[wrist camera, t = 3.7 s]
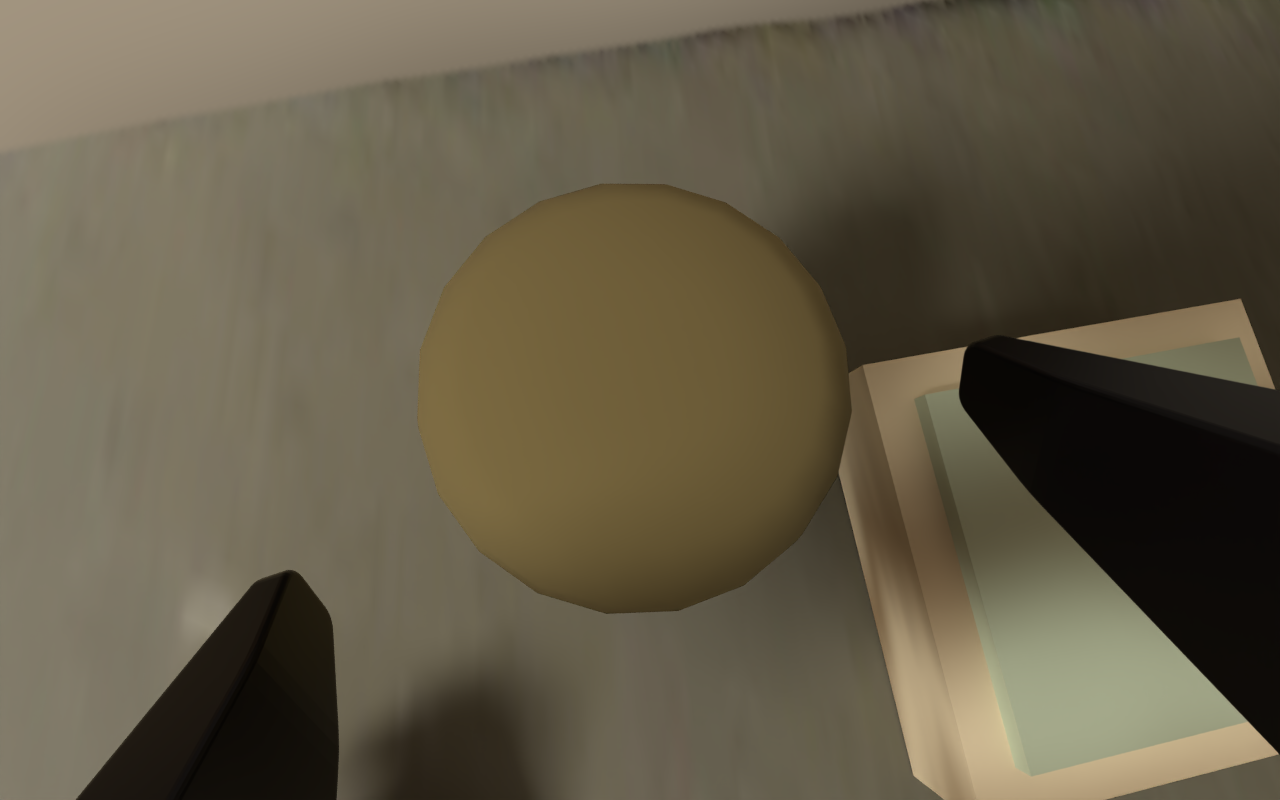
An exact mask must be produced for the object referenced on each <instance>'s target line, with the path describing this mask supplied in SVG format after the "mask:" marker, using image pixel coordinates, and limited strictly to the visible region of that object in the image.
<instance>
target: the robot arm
mask: <svg viewBox="0 0 1280 800" xmlns="http://www.w3.org/2000/svg"><path fill="white" fill-rule="evenodd" d="M959 399H960V402H961V405H962V407H963V409H964V410H965V412H966V413H967V414H968V416H969V417H970V418H971V419H972V421H973V422H974V423H975V424H976V426H977V427H978V428H979V430H980V431H981V432H982V433H983V435H984V436H985V437H986V439H987V440H988V441H989V442H990V444H991V445H992V446H993V448H994V449H995V450H996V451H997V453H998V454H999V455H1000V457H1001V458H1002V459H1003V460H1004V462H1005V463H1006V464H1007V466H1008V467H1009V468H1010V469H1011V471H1012V472H1013V473H1014V475H1015V476H1016V477H1017V478H1018V480H1019V481H1020V482H1021V483H1022V484H1023V486H1024V487H1025V488H1026V489H1027V490H1028V492H1029V493H1030V494H1031V495H1032V496H1033V497H1034V498H1035V499H1036V501H1037V502H1038V503H1039V504H1040V505H1041V506H1042V507H1043V508H1044V509H1045V510H1046V511H1047V512H1048V513H1049V514H1050V516H1051V517H1052V518H1053V519H1054V520H1055V521H1056V522H1057V523H1058V524H1059V525H1060V526H1061V527H1062V528H1063V529H1064V530H1065V531H1066V532H1067V533H1068V534H1069V535H1070V536H1071V537H1072V538H1073V540H1074V541H1075V542H1076V543H1077V544H1078V545H1079V546H1080V547H1081V548H1082V549H1083V550H1084V551H1085V552H1086V553H1087V554H1088V555H1089V556H1090V557H1091V558H1092V559H1093V560H1094V561H1095V562H1096V564H1097V565H1098V566H1099V567H1100V568H1101V569H1102V570H1103V571H1104V572H1105V573H1106V574H1107V575H1108V576H1109V577H1110V578H1111V579H1112V580H1113V581H1114V582H1115V583H1116V584H1117V585H1118V586H1119V588H1120V589H1121V590H1122V591H1123V592H1124V593H1125V594H1126V595H1127V596H1128V597H1129V598H1130V599H1131V600H1132V601H1133V602H1134V603H1135V604H1136V605H1137V606H1138V607H1139V608H1140V609H1141V611H1142V612H1143V613H1144V614H1145V615H1146V616H1147V617H1148V618H1149V619H1150V620H1151V621H1152V622H1153V623H1154V624H1155V625H1156V626H1157V627H1158V628H1159V629H1160V630H1161V631H1162V632H1163V633H1164V635H1165V636H1166V637H1167V638H1168V639H1169V640H1170V641H1171V642H1172V643H1173V644H1174V645H1175V646H1176V647H1177V648H1178V649H1179V650H1180V651H1181V652H1182V653H1183V654H1184V655H1185V656H1186V657H1187V659H1188V660H1189V661H1190V662H1191V663H1192V664H1193V665H1194V666H1195V667H1196V668H1197V669H1198V670H1199V671H1200V672H1201V673H1202V674H1203V675H1204V676H1205V677H1206V678H1207V679H1208V680H1209V681H1210V683H1211V684H1212V685H1213V686H1214V687H1215V688H1216V689H1217V690H1218V691H1219V692H1220V693H1221V694H1222V695H1223V696H1224V697H1225V698H1226V699H1227V700H1228V701H1229V702H1230V703H1231V704H1232V706H1233V707H1234V708H1235V709H1236V710H1237V711H1238V712H1239V713H1240V714H1241V715H1242V716H1243V717H1244V718H1245V719H1246V720H1247V721H1248V722H1249V723H1250V724H1251V725H1252V726H1253V727H1254V728H1255V730H1256V731H1257V732H1258V733H1259V734H1260V735H1261V736H1262V737H1263V738H1264V739H1265V740H1266V741H1267V742H1268V743H1269V744H1270V745H1271V746H1272V747H1273V748H1274V749H1275V750H1276V751H1277V752H1278V754H1279V755H1280V390H1276V389H1271V388H1265V387H1260V386H1255V385H1250V384H1245V383H1240V382H1235V381H1230V380H1225V379H1220V378H1215V377H1210V376H1205V375H1200V374H1195V373H1189V372H1184V371H1179V370H1174V369H1169V368H1164V367H1159V366H1154V365H1149V364H1144V363H1139V362H1134V361H1129V360H1124V359H1119V358H1113V357H1108V356H1103V355H1098V354H1093V353H1088V352H1083V351H1078V350H1073V349H1068V348H1063V347H1058V346H1053V345H1048V344H1043V343H1037V342H1032V341H1027V340H1022V339H1017V338H1012V337H1007V336H1001V335H996V336H991V337H988V338H985V339H982V340H979V341H976V342H973V343H971V344H970V345H968V347H967V348H966V350H965V352H964V357H963V364H962V371H961V378H960V385H959ZM338 762H339V730H338V711H337V693H336V675H335V656H334V638H333V625H332V621H331V617H330V615H329V613H328V611H327V609H326V607H325V606H324V605H323V603H322V602H321V601H320V600H319V598H318V597H317V596H316V594H315V593H314V592H313V590H312V589H311V588H310V586H309V585H308V584H307V582H306V581H305V580H304V579H303V577H302V576H301V575H300V574H299V573H297V572H296V571H293V570H286V571H283V572H280V573H277V574H274V575H271V576H268V577H265V578H262V579H260V580H258V581H256V582H255V583H254V584H253V585H252V586H251V587H250V588H249V589H248V591H247V592H246V593H245V594H244V595H243V597H242V598H241V599H240V600H239V602H238V603H237V604H236V605H235V606H234V608H233V609H232V610H231V611H230V612H229V614H228V615H227V616H226V617H225V619H224V620H223V621H222V622H221V623H220V625H219V626H218V627H217V628H216V630H215V631H214V632H213V633H212V634H211V636H210V637H209V638H208V639H207V641H206V642H205V643H204V644H203V645H202V647H201V648H200V649H199V650H198V651H197V653H196V654H195V655H194V656H193V658H192V659H191V660H190V661H189V662H188V664H187V665H186V666H185V667H184V669H183V670H182V671H181V672H180V673H179V675H178V676H177V677H176V678H175V679H174V681H173V682H172V683H171V684H170V686H169V687H168V688H167V689H166V690H165V692H164V693H163V694H162V695H161V697H160V698H159V699H158V700H157V701H156V703H155V704H154V705H153V706H152V707H151V709H150V710H149V711H148V712H147V714H146V715H145V716H144V717H143V718H142V720H141V721H140V722H139V723H138V725H137V726H136V727H135V728H134V729H133V731H132V732H131V733H130V734H129V735H128V737H127V738H126V739H125V740H124V742H123V743H122V744H121V745H120V746H119V748H118V749H117V750H116V751H115V753H114V754H113V755H112V756H111V757H110V759H109V760H108V761H107V762H106V763H105V765H104V766H103V767H102V768H101V770H100V771H99V772H98V773H97V774H96V776H95V777H94V778H93V779H92V781H91V782H90V783H89V784H88V785H87V787H86V788H85V789H84V790H83V791H82V793H81V794H80V795H79V796H78V798H77V799H76V800H336V798H337V782H338Z"/></svg>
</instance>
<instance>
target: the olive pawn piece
mask: <svg viewBox="0 0 1280 800" xmlns="http://www.w3.org/2000/svg"><path fill="white" fill-rule="evenodd" d="M851 414H852V405H851V395H850V384H849V374H848V363H847V353H846V345H845V343H844V341H843V338H842V336H841V334H840V331H839V329H838V327H837V324H836V322H835V320H834V317H833V315H832V313H831V310H830V308H829V305H828V303H827V301H826V298H825V296H824V294H823V291H822V289H821V287H820V286H819V284H818V283H817V282H816V281H815V280H814V279H813V277H812V276H811V275H810V274H809V273H808V271H807V270H806V269H805V268H804V267H803V265H802V264H801V263H800V262H799V261H798V259H797V258H796V257H795V256H794V255H793V254H792V252H791V251H790V250H789V249H788V248H787V246H786V245H785V244H784V243H783V242H782V240H781V239H780V238H779V237H777V236H776V235H774V234H773V233H771V232H770V231H768V230H766V229H765V228H763V227H762V226H760V225H759V224H757V223H756V222H754V221H753V220H751V219H750V218H748V217H747V216H745V215H744V214H742V213H741V212H739V211H738V210H736V209H735V208H733V207H732V206H730V205H728V204H727V203H725V202H722V201H719V200H715V199H712V198H709V197H705V196H702V195H699V194H696V193H692V192H689V191H686V190H682V189H679V188H676V187H673V186H669V185H666V184H599V185H595V186H592V187H588V188H585V189H581V190H578V191H574V192H571V193H567V194H564V195H561V196H557V197H554V198H550V199H547V200H543V201H540V202H538V203H537V204H535V205H534V206H532V207H530V208H529V209H527V210H526V211H524V212H523V213H521V214H520V215H518V216H517V217H515V218H514V219H512V220H511V221H509V222H508V223H506V224H504V225H503V226H501V227H500V228H498V229H497V230H495V231H494V232H492V233H491V234H489V235H488V236H486V237H485V238H484V239H483V241H482V242H481V243H480V244H479V245H478V247H477V248H476V249H475V250H474V252H473V253H472V254H471V255H470V256H469V258H468V259H467V260H466V261H465V263H464V264H463V265H462V266H461V268H460V269H459V270H458V271H457V272H456V274H455V275H454V276H453V277H452V279H451V280H450V281H449V282H448V283H447V285H446V286H445V287H444V289H443V292H442V294H441V297H440V300H439V302H438V305H437V307H436V310H435V313H434V315H433V318H432V320H431V323H430V326H429V328H428V331H427V333H426V336H425V339H424V341H423V344H422V347H421V349H420V366H419V391H418V416H417V419H418V427H419V431H420V434H421V438H422V441H423V444H424V448H425V451H426V455H427V458H428V461H429V465H430V468H431V471H432V475H433V478H434V481H435V485H436V488H437V491H438V494H439V496H440V497H441V499H442V500H443V501H444V503H445V504H446V506H447V507H448V508H449V510H450V511H451V513H452V514H453V515H454V517H455V518H456V520H457V521H458V522H459V524H460V525H461V527H462V528H463V529H464V531H465V532H466V534H467V535H468V536H469V538H470V539H471V541H472V542H473V543H474V545H475V546H476V548H477V549H478V550H479V552H481V553H482V554H484V555H485V556H486V557H488V558H489V559H491V560H492V561H493V562H495V563H496V564H498V565H499V566H500V567H502V568H503V569H505V570H506V571H507V572H509V573H510V574H512V575H513V576H514V577H516V578H517V579H519V580H520V581H521V582H523V583H524V584H526V585H527V586H528V587H530V588H531V589H533V590H534V591H535V592H537V593H539V594H542V595H546V596H549V597H552V598H556V599H559V600H562V601H566V602H569V603H573V604H576V605H579V606H583V607H586V608H589V609H593V610H596V611H599V612H603V613H606V614H610V613H636V612H661V611H679V610H681V609H684V608H687V607H689V606H692V605H694V604H697V603H700V602H702V601H705V600H707V599H710V598H713V597H715V596H718V595H720V594H723V593H725V592H728V591H731V590H733V589H736V588H738V587H741V586H744V585H745V584H746V583H747V582H748V581H749V580H751V579H752V578H753V577H754V576H755V575H757V574H758V573H759V572H760V571H761V570H763V569H764V568H765V567H766V566H767V565H769V564H770V563H771V562H772V561H773V560H775V559H776V558H777V557H778V556H779V555H780V554H782V553H783V552H784V551H785V550H786V549H788V548H789V547H790V546H791V545H792V544H794V543H795V542H796V541H797V540H798V539H799V537H800V536H801V535H802V534H803V532H804V530H805V529H806V527H807V525H808V524H809V522H810V521H811V519H812V517H813V516H814V514H815V512H816V511H817V509H818V507H819V506H820V504H821V502H822V501H823V499H824V497H825V496H826V494H827V492H828V491H829V489H830V488H831V486H832V484H833V483H834V481H835V479H836V478H837V476H838V472H839V467H840V463H841V458H842V454H843V449H844V445H845V440H846V436H847V432H848V427H849V423H850V418H851Z"/></svg>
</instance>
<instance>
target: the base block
mask: <svg viewBox="0 0 1280 800" xmlns="http://www.w3.org/2000/svg"><path fill="white" fill-rule="evenodd" d="M1017 339H1022V340H1027V341H1032V342H1037V343H1043V344H1048V345H1053V346H1058V347H1063V348H1068V349H1073V350H1078V351H1083V352H1088V353H1093V354H1098V355H1103V356H1108V357H1113V358H1119V359H1124V360H1129V361H1134V362H1139V363H1144V364H1149V365H1154V366H1159V367H1164V368H1169V369H1174V370H1179V371H1184V372H1189V373H1195V374H1200V375H1205V376H1210V377H1215V378H1220V379H1225V380H1230V381H1235V382H1240V383H1245V384H1250V385H1255V386H1260V387H1265V388H1271V389H1275V387H1274V385H1273V382H1272V379H1271V377H1270V374H1269V371H1268V369H1267V366H1266V364H1265V361H1264V358H1263V356H1262V353H1261V350H1260V348H1259V345H1258V343H1257V340H1256V337H1255V335H1254V332H1253V330H1252V327H1251V324H1250V322H1249V319H1248V316H1247V314H1246V311H1245V309H1244V306H1243V303H1242V301H1241V299H1236V300H1231V301H1225V302H1219V303H1213V304H1208V305H1202V306H1196V307H1191V308H1185V309H1179V310H1174V311H1168V312H1162V313H1156V314H1151V315H1145V316H1139V317H1134V318H1128V319H1122V320H1117V321H1111V322H1105V323H1099V324H1094V325H1088V326H1082V327H1077V328H1071V329H1065V330H1059V331H1054V332H1048V333H1042V334H1037V335H1031V336H1025V337H1020V338H1017ZM966 348H967V347H963V348H957V349H951V350H945V351H940V352H934V353H928V354H923V355H917V356H911V357H906V358H900V359H894V360H888V361H883V362H877V363H871V364H866V365H862V366H860V367H859V368H857V369H855V370H854V371H852V372H850V373H849V384H850V395H851V405H852V414H851V418H850V423H849V427H848V432H847V436H846V440H845V445H844V449H843V454H842V458H841V463H840V467H839V476H840V480H841V484H842V488H843V492H844V496H845V500H846V505H847V509H848V513H849V517H850V521H851V525H852V529H853V533H854V537H855V541H856V545H857V549H858V553H859V557H860V561H861V565H862V569H863V573H864V577H865V581H866V585H867V589H868V593H869V597H870V602H871V606H872V610H873V614H874V618H875V622H876V626H877V630H878V634H879V638H880V642H881V646H882V650H883V654H884V658H885V662H886V666H887V670H888V674H889V678H890V682H891V686H892V690H893V694H894V698H895V703H896V707H897V711H898V715H899V719H900V723H901V727H902V731H903V735H904V739H905V743H906V747H907V751H908V755H909V759H910V763H911V767H912V771H913V775H914V776H915V777H916V778H917V779H919V780H920V781H921V782H922V783H924V784H925V785H926V786H928V787H929V788H930V789H931V790H933V791H934V792H935V793H937V794H938V795H939V796H940V797H942V798H943V799H944V800H1106V799H1109V798H1113V797H1117V796H1121V795H1125V794H1129V793H1132V792H1136V791H1140V790H1144V789H1148V788H1152V787H1155V786H1159V785H1163V784H1167V783H1171V782H1175V781H1178V780H1182V779H1186V778H1190V777H1194V776H1198V775H1201V774H1205V773H1209V772H1213V771H1217V770H1220V769H1224V768H1228V767H1232V766H1236V765H1240V764H1243V763H1247V762H1251V761H1255V760H1259V759H1263V758H1266V757H1270V756H1274V755H1278V752H1277V751H1276V750H1275V749H1274V748H1273V747H1272V746H1271V745H1270V744H1269V743H1268V742H1267V741H1266V740H1265V739H1264V738H1263V737H1262V736H1261V735H1260V734H1259V733H1258V732H1257V731H1256V730H1255V728H1254V727H1253V726H1252V725H1251V724H1250V723H1249V722H1248V721H1247V720H1246V719H1245V718H1244V717H1243V716H1242V715H1241V714H1240V713H1239V712H1238V711H1237V710H1236V709H1235V708H1234V707H1233V706H1232V704H1231V703H1230V702H1229V701H1228V700H1227V699H1226V698H1225V697H1224V696H1223V695H1222V694H1221V693H1220V692H1219V691H1218V690H1217V689H1216V688H1215V687H1214V686H1213V685H1212V684H1211V683H1210V681H1209V680H1208V679H1207V678H1206V677H1205V676H1204V675H1203V674H1202V673H1201V672H1200V671H1199V670H1198V669H1197V668H1196V667H1195V666H1194V665H1193V664H1192V663H1191V662H1190V661H1189V660H1188V659H1187V657H1186V656H1185V655H1184V654H1183V653H1182V652H1181V651H1180V650H1179V649H1178V648H1177V647H1176V646H1175V645H1174V644H1173V643H1172V642H1171V641H1170V640H1169V639H1168V638H1167V637H1166V636H1165V635H1164V633H1163V632H1162V631H1161V630H1160V629H1159V628H1158V627H1157V626H1156V625H1155V624H1154V623H1153V622H1152V621H1151V620H1150V619H1149V618H1148V617H1147V616H1146V615H1145V614H1144V613H1143V612H1142V611H1141V609H1140V608H1139V607H1138V606H1137V605H1136V604H1135V603H1134V602H1133V601H1132V600H1131V599H1130V598H1129V597H1128V596H1127V595H1126V594H1125V593H1124V592H1123V591H1122V590H1121V589H1120V588H1119V586H1118V585H1117V584H1116V583H1115V582H1114V581H1113V580H1112V579H1111V578H1110V577H1109V576H1108V575H1107V574H1106V573H1105V572H1104V571H1103V570H1102V569H1101V568H1100V567H1099V566H1098V565H1097V564H1096V562H1095V561H1094V560H1093V559H1092V558H1091V557H1090V556H1089V555H1088V554H1087V553H1086V552H1085V551H1084V550H1083V549H1082V548H1081V547H1080V546H1079V545H1078V544H1077V543H1076V542H1075V541H1074V540H1073V538H1072V537H1071V536H1070V535H1069V534H1068V533H1067V532H1066V531H1065V530H1064V529H1063V528H1062V527H1061V526H1060V525H1059V524H1058V523H1057V522H1056V521H1055V520H1054V519H1053V518H1052V517H1051V516H1050V514H1049V513H1048V512H1047V511H1046V510H1045V509H1044V508H1043V507H1042V506H1041V505H1040V504H1039V503H1038V502H1037V501H1036V499H1035V498H1034V497H1033V496H1032V495H1031V494H1030V493H1029V492H1028V490H1027V489H1026V488H1025V487H1024V486H1023V484H1022V483H1021V482H1020V481H1019V480H1018V478H1017V477H1016V476H1015V475H1014V473H1013V472H1012V471H1011V469H1010V468H1009V467H1008V466H1007V464H1006V463H1005V462H1004V460H1003V459H1002V458H1001V457H1000V455H999V454H998V453H997V451H996V450H995V449H994V448H993V446H992V445H991V444H990V442H989V441H988V440H987V439H986V437H985V436H984V435H983V433H982V432H981V431H980V430H979V428H978V427H977V426H976V424H975V423H974V422H973V421H972V419H971V418H970V417H969V416H968V414H967V413H966V412H965V410H964V409H963V407H962V405H961V402H960V399H959V385H960V378H961V371H962V364H963V357H964V352H965V350H966Z"/></svg>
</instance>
